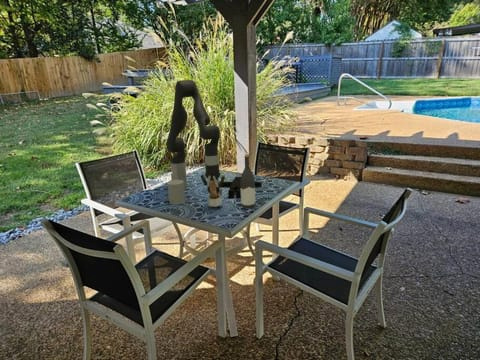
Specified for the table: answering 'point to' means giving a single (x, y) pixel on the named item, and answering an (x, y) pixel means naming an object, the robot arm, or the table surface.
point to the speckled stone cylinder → (176, 191)
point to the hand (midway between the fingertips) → (213, 192)
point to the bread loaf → (213, 190)
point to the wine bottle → (247, 185)
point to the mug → (215, 200)
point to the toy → (236, 187)
